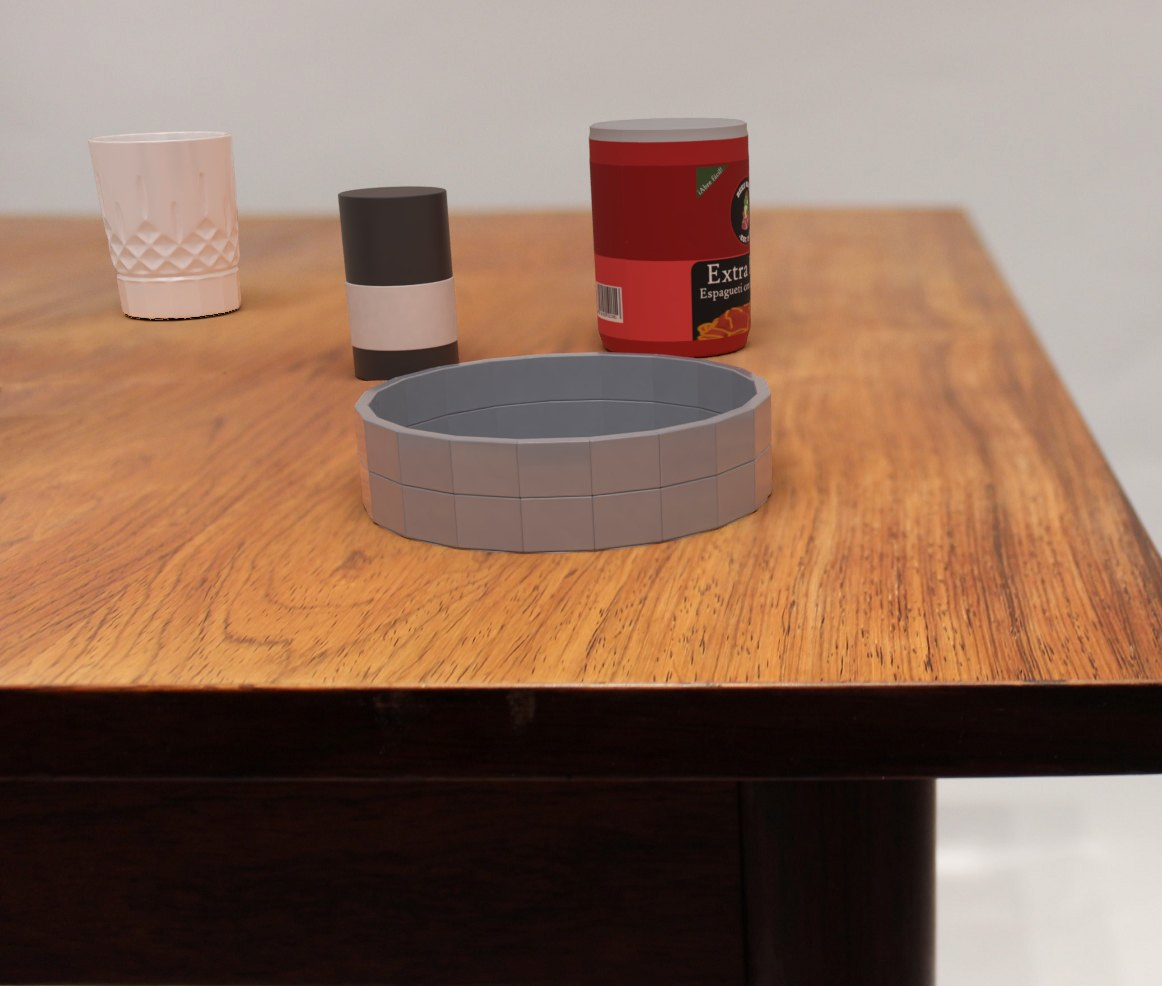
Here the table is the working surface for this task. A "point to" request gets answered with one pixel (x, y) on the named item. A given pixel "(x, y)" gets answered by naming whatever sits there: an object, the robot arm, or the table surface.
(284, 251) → the table surface
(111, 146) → the white cup
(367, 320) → the container
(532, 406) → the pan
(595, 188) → the canned food
